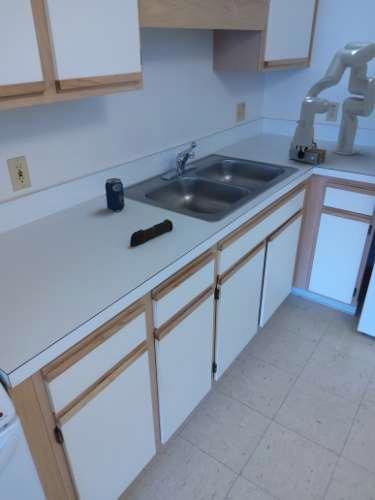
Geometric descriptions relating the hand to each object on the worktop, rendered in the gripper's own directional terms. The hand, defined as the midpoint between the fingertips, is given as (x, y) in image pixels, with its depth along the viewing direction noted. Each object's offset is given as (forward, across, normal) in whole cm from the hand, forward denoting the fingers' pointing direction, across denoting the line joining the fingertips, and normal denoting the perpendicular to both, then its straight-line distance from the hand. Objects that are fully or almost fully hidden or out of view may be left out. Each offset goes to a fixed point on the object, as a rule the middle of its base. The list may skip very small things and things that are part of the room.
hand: (300, 158), depth 215 cm
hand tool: (+6, -4, -118) cm, 119 cm away
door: (+2, 0, +2) cm, 3 cm away
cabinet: (+2, +1, +9) cm, 9 cm away
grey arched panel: (+3, -7, +22) cm, 23 cm away
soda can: (+6, -33, -108) cm, 113 cm away
